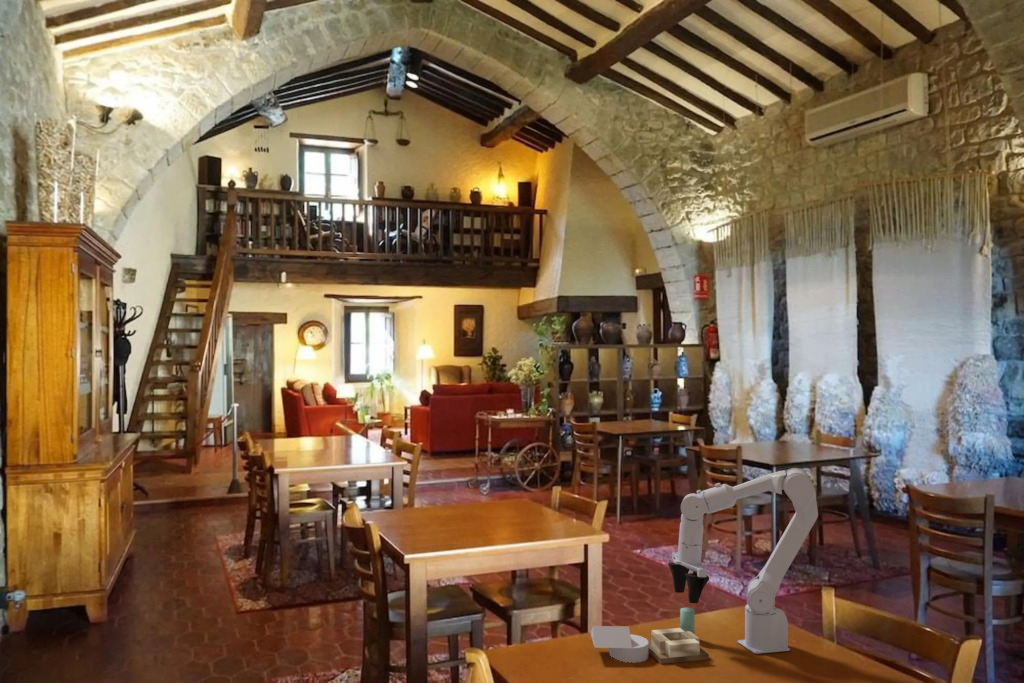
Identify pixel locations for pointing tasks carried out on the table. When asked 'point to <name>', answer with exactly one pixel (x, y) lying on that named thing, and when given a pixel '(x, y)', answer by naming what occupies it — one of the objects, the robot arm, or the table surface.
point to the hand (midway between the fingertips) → (686, 597)
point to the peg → (687, 619)
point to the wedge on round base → (620, 643)
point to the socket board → (675, 646)
